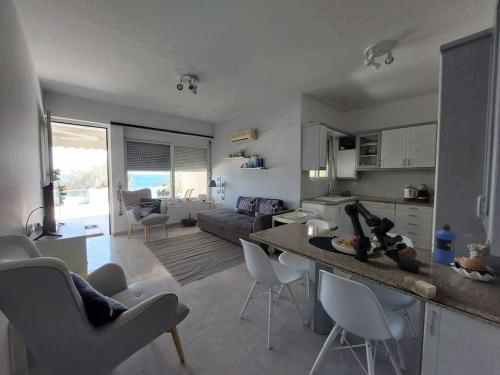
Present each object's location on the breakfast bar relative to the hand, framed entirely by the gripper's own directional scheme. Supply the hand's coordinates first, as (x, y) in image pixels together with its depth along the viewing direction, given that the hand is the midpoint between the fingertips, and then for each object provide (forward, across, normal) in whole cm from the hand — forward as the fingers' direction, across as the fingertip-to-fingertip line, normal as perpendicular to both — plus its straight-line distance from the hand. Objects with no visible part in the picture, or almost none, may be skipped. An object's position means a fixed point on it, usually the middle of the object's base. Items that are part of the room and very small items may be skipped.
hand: (399, 263), depth 108 cm
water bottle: (0, +50, +14) cm, 52 cm away
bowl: (-25, +12, +40) cm, 49 cm away
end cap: (+1, +18, +13) cm, 22 cm away
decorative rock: (-6, +28, +21) cm, 35 cm away
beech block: (+8, 0, +2) cm, 8 cm away
